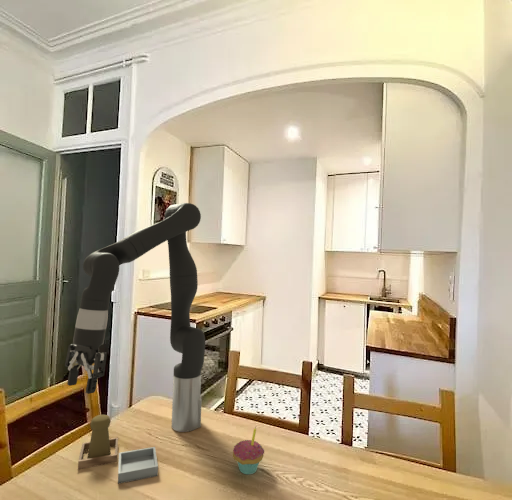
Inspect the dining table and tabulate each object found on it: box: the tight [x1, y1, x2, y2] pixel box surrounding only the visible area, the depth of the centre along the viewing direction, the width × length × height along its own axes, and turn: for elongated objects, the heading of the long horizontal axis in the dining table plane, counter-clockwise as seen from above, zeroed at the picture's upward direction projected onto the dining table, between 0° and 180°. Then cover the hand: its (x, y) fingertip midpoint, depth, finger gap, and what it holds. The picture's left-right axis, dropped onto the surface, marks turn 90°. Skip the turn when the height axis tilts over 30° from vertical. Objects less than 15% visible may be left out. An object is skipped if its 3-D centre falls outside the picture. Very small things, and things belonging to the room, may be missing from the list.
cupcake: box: [232, 426, 265, 475], centre depth 92 cm, size 9×8×12 cm
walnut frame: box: [77, 437, 119, 470], centre depth 95 cm, size 10×10×2 cm
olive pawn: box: [86, 414, 112, 459], centre depth 96 cm, size 6×6×11 cm
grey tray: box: [117, 446, 159, 485], centre depth 90 cm, size 10×10×2 cm
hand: (80, 388), depth 88 cm, fingers open, 8 cm apart
